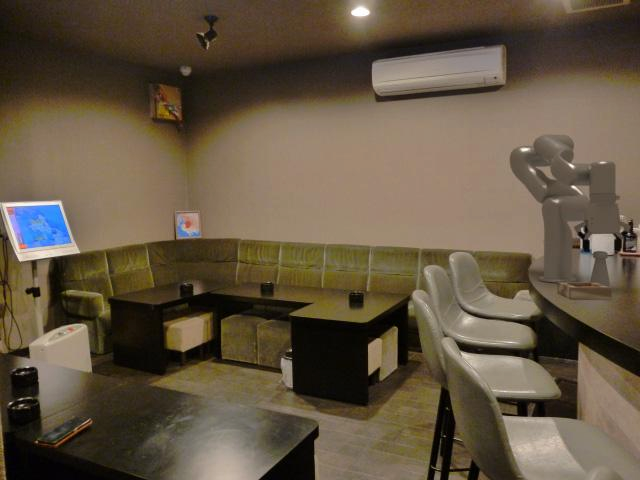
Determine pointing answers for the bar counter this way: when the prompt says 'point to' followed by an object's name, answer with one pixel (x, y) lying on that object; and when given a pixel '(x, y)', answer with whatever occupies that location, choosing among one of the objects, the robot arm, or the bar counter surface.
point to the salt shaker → (600, 269)
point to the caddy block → (585, 290)
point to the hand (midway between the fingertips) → (602, 251)
